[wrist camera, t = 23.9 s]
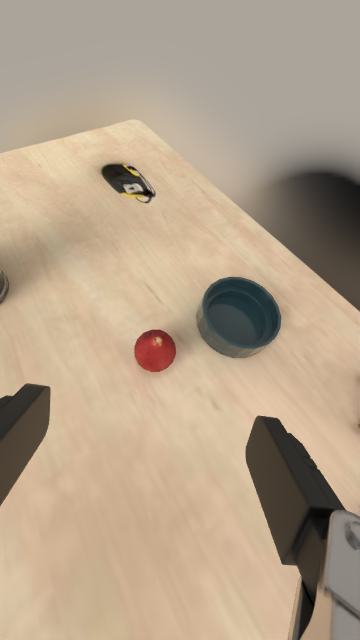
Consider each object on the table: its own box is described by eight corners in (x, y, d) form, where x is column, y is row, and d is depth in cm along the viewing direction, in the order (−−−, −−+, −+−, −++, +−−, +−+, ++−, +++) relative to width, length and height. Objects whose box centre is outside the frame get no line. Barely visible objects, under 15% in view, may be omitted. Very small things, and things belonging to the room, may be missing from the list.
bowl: (181, 313, 43) (186, 300, 39) (232, 280, 48) (241, 265, 44) (232, 373, 39) (243, 365, 35) (282, 331, 45) (296, 319, 41)
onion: (128, 349, 38) (127, 327, 31) (162, 335, 40) (167, 312, 33) (143, 384, 36) (146, 368, 29) (178, 367, 38) (188, 349, 31)
